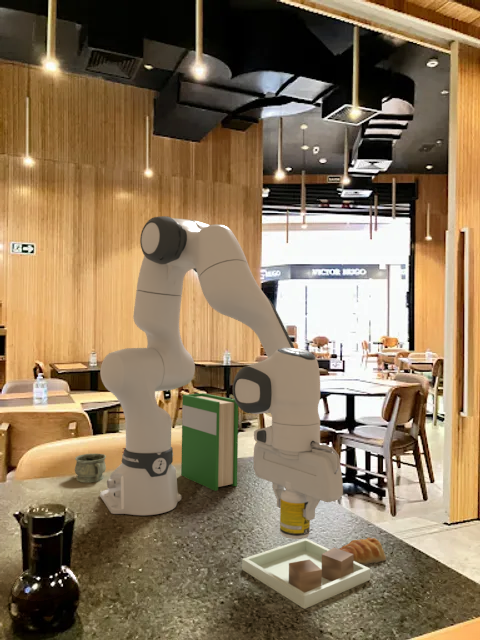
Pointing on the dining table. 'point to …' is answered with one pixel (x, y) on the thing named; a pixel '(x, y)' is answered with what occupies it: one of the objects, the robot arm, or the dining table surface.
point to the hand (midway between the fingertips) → (295, 513)
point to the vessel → (90, 467)
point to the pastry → (365, 550)
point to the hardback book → (209, 440)
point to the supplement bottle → (293, 514)
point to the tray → (276, 561)
